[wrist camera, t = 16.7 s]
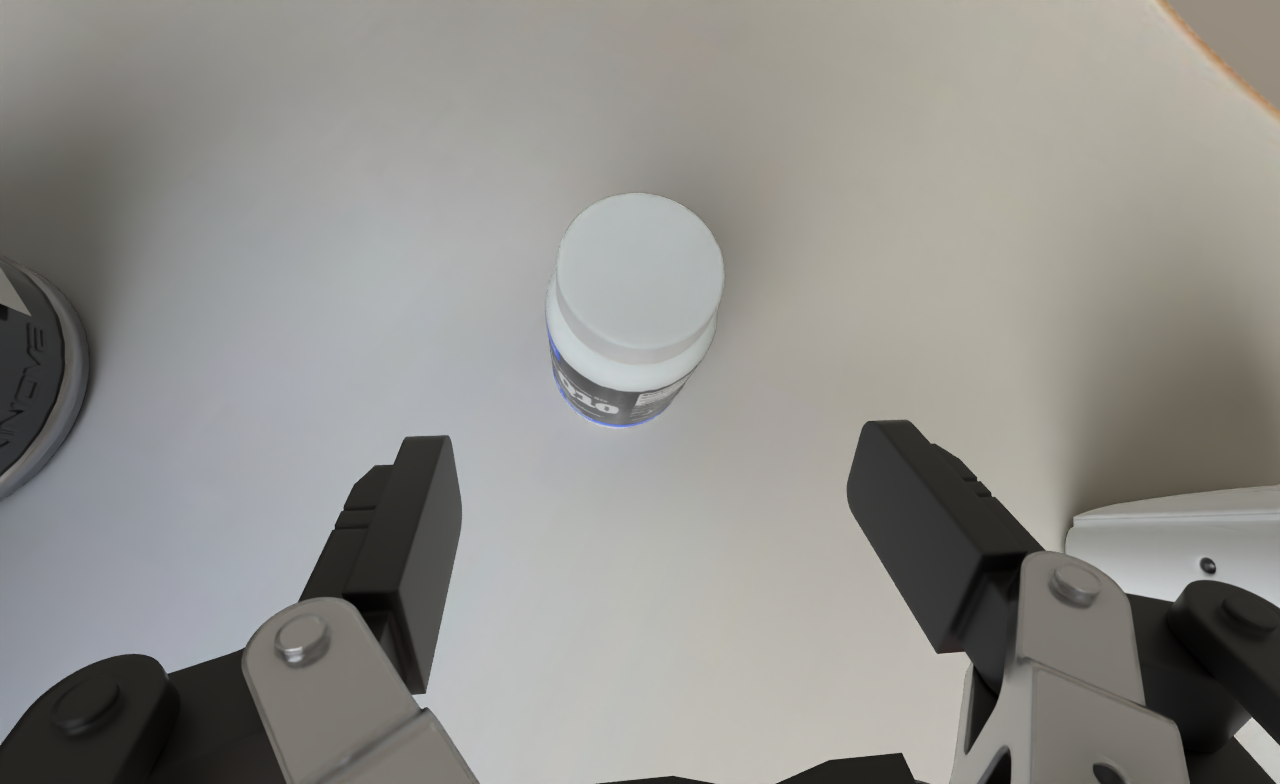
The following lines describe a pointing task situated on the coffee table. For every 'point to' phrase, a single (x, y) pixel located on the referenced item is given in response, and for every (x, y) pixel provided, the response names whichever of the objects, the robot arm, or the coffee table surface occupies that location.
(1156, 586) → the photo printer
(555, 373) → the pill bottle
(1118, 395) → the coffee table surface
